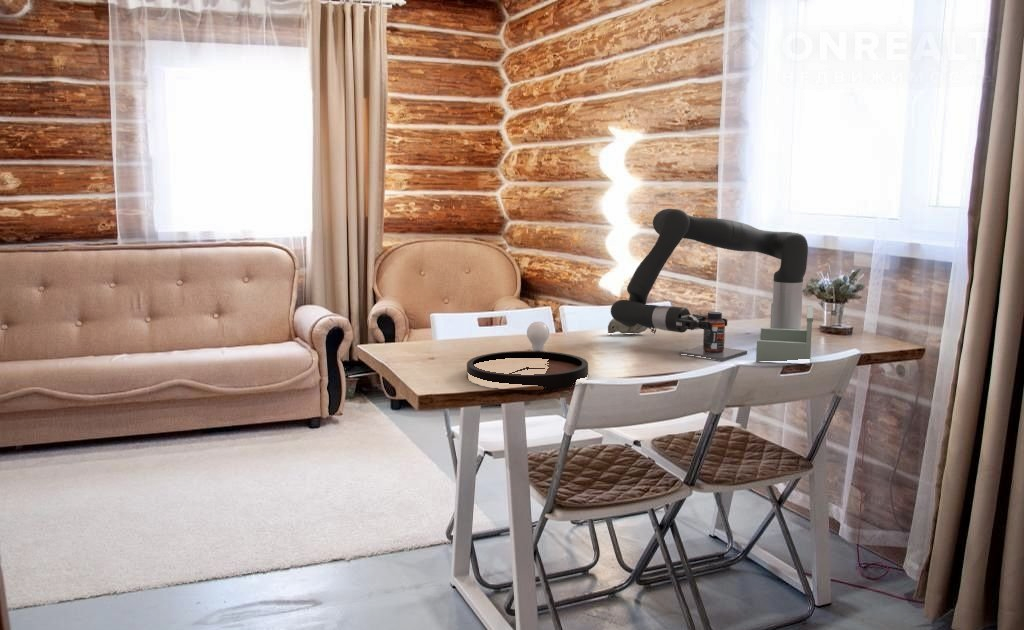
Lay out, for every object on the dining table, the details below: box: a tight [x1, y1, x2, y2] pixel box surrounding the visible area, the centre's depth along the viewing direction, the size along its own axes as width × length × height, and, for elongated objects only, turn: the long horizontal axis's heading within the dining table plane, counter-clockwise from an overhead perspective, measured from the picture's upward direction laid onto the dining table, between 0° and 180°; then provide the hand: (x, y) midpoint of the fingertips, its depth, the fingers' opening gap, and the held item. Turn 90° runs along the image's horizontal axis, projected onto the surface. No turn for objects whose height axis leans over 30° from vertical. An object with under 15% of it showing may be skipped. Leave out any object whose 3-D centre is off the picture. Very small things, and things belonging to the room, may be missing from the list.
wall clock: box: [466, 350, 589, 391], centre depth 222 cm, size 31×4×31 cm
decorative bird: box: [607, 318, 657, 335], centre depth 282 cm, size 5×16×8 cm, turn 95°
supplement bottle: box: [702, 311, 726, 352], centre depth 248 cm, size 6×6×11 cm
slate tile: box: [679, 344, 748, 362], centre depth 249 cm, size 14×14×1 cm
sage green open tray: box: [755, 306, 814, 366], centre depth 245 cm, size 14×22×13 cm, turn 161°
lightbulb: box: [526, 321, 550, 351], centre depth 242 cm, size 6×6×11 cm
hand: (719, 324), depth 247 cm, fingers open, 8 cm apart
